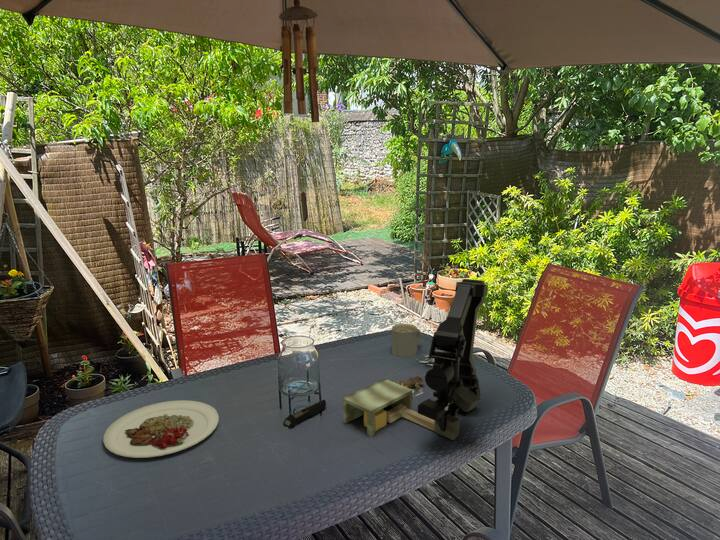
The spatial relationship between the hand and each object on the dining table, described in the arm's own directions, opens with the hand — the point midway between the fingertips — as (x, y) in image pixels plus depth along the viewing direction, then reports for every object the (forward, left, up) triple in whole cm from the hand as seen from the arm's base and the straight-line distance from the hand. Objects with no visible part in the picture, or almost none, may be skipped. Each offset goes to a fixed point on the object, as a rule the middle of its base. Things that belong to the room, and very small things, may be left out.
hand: (446, 428), depth 136 cm
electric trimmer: (+20, -36, -2) cm, 41 cm away
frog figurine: (-15, -26, -3) cm, 30 cm away
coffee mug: (-39, -46, -2) cm, 61 cm away
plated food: (+53, -58, -2) cm, 78 cm away
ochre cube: (+10, -17, -2) cm, 20 cm away
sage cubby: (+6, -20, -2) cm, 21 cm away
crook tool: (+2, -7, -2) cm, 7 cm away
